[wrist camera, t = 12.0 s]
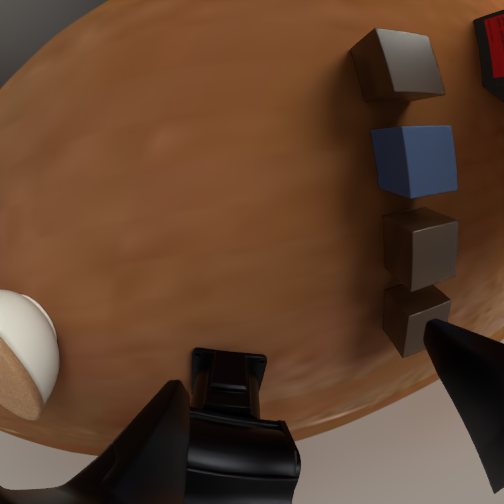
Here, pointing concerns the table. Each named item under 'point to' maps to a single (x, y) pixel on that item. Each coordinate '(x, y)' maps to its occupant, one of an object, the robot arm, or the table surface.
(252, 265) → the table surface
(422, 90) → the walnut block
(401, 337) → the walnut block
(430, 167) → the blue block
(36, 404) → the lidded bowl
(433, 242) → the walnut block
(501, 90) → the cleaning product box
